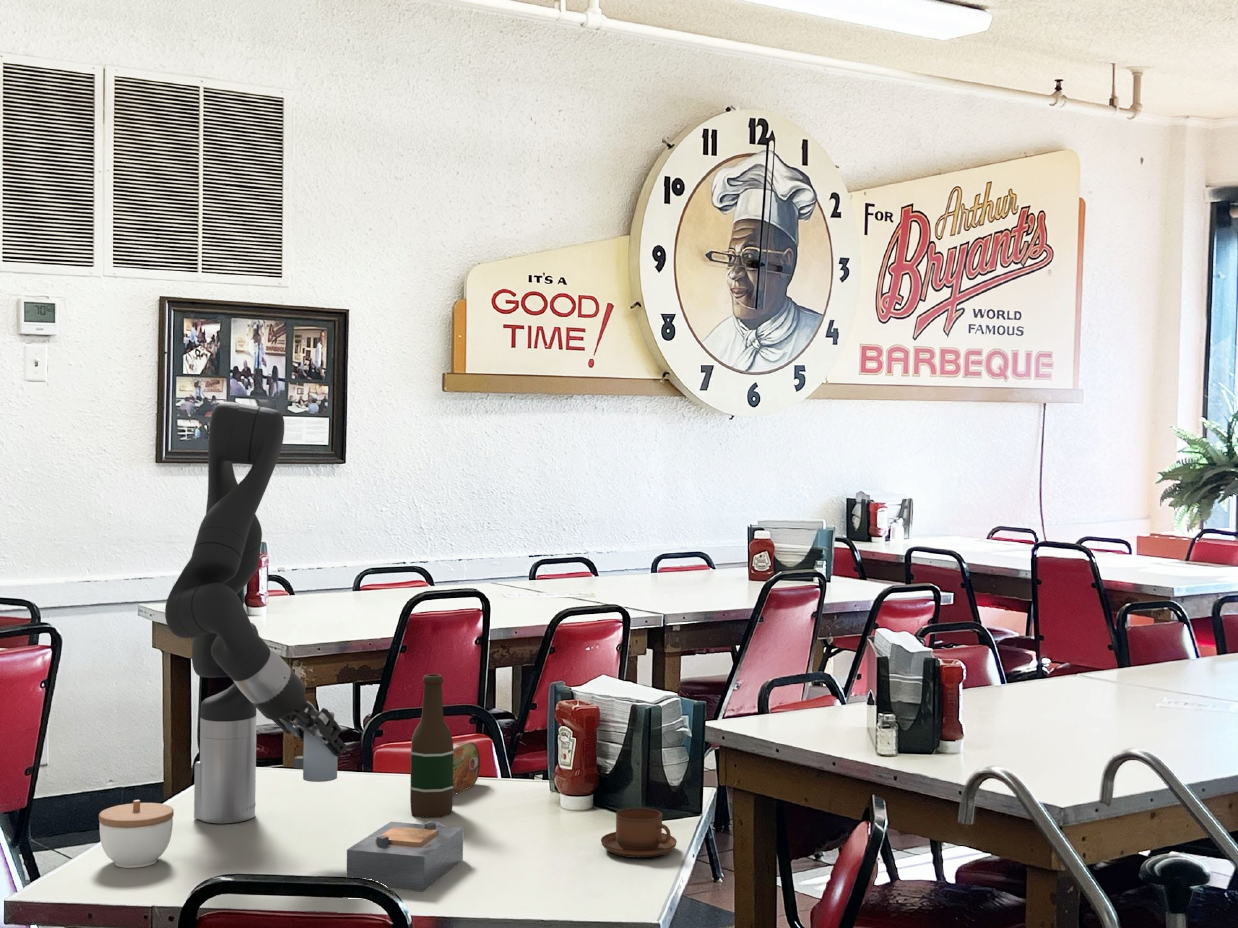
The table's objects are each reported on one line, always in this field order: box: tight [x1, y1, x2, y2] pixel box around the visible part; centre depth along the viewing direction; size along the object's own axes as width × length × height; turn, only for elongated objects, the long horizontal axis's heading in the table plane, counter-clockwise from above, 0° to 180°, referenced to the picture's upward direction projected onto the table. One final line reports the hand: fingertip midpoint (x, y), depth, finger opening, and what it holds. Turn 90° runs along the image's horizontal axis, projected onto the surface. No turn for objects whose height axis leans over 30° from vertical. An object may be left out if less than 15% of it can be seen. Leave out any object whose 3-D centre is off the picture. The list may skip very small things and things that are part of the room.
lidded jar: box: [98, 799, 175, 869], centre depth 209 cm, size 11×11×9 cm
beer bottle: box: [409, 673, 454, 819], centre depth 240 cm, size 8×8×24 cm
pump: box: [293, 711, 339, 783], centre depth 214 cm, size 7×5×10 cm
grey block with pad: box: [346, 820, 464, 892], centre depth 208 cm, size 12×21×6 cm, turn 166°
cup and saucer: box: [600, 807, 678, 858], centre depth 218 cm, size 12×12×6 cm
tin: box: [453, 741, 481, 796], centre depth 256 cm, size 15×3×8 cm, turn 159°
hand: (329, 748), depth 216 cm, fingers closed on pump, 5 cm apart
